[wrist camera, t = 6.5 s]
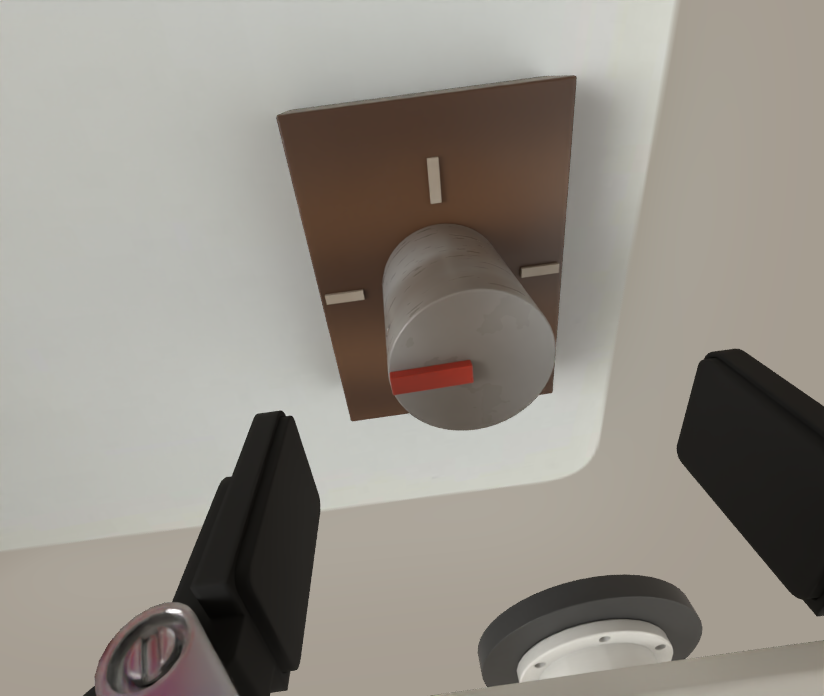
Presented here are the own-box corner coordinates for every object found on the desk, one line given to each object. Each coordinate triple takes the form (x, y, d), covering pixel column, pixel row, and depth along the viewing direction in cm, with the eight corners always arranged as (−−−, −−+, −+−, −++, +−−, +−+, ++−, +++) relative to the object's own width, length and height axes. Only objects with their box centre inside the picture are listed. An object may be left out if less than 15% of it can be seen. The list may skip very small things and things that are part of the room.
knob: (500, 213, 15) (565, 280, 10) (502, 325, 17) (557, 425, 12) (372, 233, 15) (374, 311, 10) (392, 343, 17) (402, 449, 12)
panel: (534, 362, 21) (554, 395, 19) (353, 388, 21) (350, 424, 19) (548, 75, 15) (579, 75, 13) (288, 110, 15) (274, 115, 13)
